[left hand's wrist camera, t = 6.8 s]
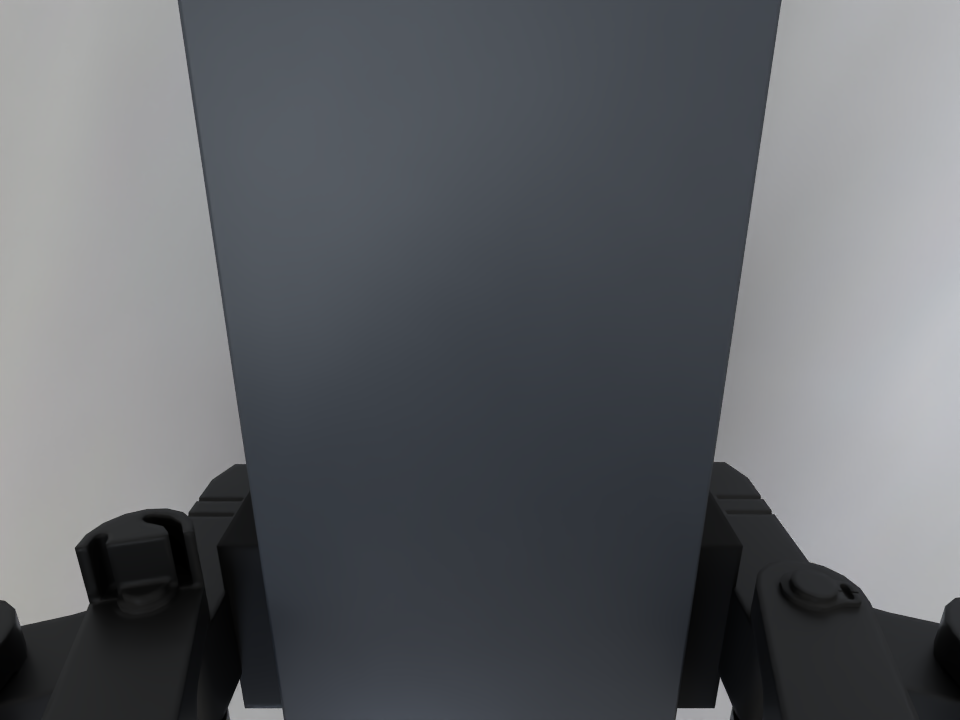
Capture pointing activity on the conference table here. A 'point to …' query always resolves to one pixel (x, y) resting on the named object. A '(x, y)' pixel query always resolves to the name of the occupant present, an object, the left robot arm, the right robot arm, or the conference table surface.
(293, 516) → the beam
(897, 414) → the conference table surface
